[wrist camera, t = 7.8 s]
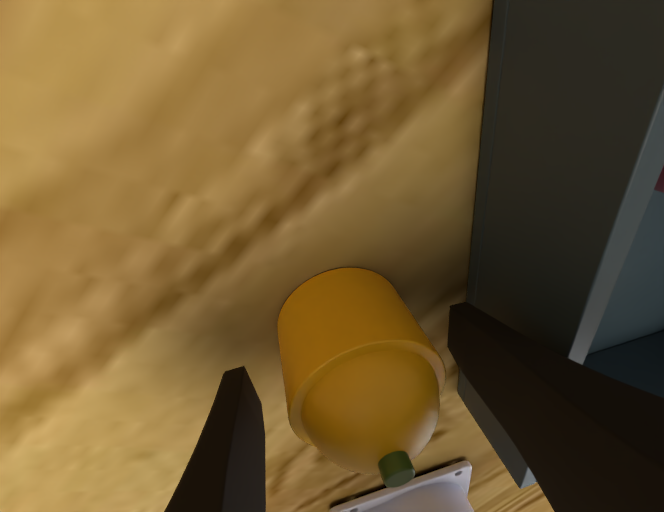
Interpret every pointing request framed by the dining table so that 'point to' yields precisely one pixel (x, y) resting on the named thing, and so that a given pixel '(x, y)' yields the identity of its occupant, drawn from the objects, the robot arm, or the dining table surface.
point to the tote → (572, 191)
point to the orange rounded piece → (359, 373)
